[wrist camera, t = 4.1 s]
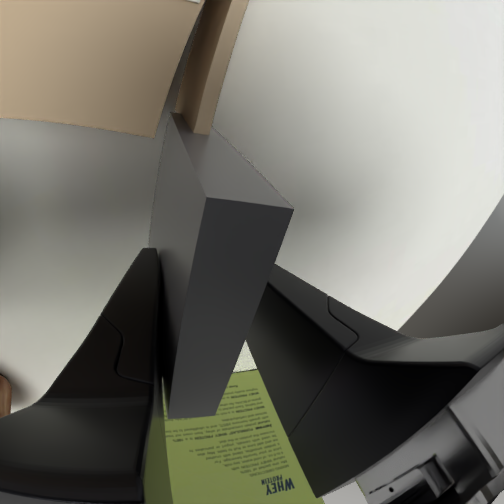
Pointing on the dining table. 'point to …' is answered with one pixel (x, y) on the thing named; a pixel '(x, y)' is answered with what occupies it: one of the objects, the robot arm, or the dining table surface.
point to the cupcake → (5, 397)
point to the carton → (92, 60)
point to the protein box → (235, 452)
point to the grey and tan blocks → (209, 229)
